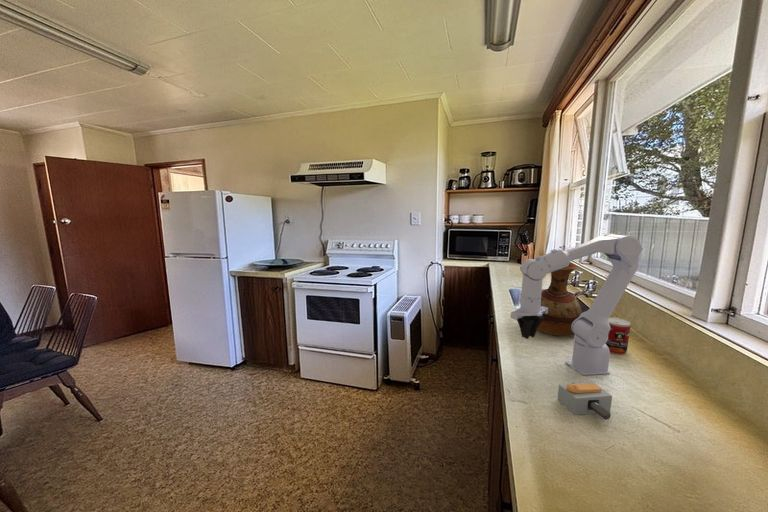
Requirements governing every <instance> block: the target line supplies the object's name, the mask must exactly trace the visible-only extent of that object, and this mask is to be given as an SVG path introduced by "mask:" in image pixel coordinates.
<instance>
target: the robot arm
mask: <svg viewBox="0 0 768 512" xmlns="http://www.w3.org/2000/svg"><path fill="white" fill-rule="evenodd" d="M643 249H644V247H643V246H642V244H641V242H640V240H639V239H638V238H637V237H635V236H632V235H622V234H621V235H620V234H614V233H606V234H603V235H599V236H597V237H595V238H593V239H591V240H587V241H586V242H584V243H581V244H579V245H576V246H574V247H572V248H569V249H567V250H565V251H564V250H563V249H556V248H554V249H551V250H550V252H549V253H548V252H547V253H546V254H544V255H536V256H535V259H533V258H528V259H525V260H524V261H523V262H522V264H521V265H520V267H519V269H520V272H521V273H522V281H521V295H520V307H519V308H518V309H515V310H514V311H511V312H510V319H512V320H515V321H517V323H518V326H519V328H520V334H521V337H522V338H524V339H526V340H529V339H530V338H535V336H536V333H537V331H538V326H539V325H540V323H541V322H542V321H543V318H544V317H542V315H543V314H542V313H544V314H547V313H548V308H547V307H544V306H541V307H540V305H541V293H542V291H543V281H544V280H543V279H544V278H545V277H546V276H547V275H548V274H551V272H553V271H556V270H559V269H562V268H564V267H567V266H568V265H569V263H571V262H572V261H574V260H578V259H579V260H580V259H581V258H585V257H588V256H591V255H594V254H596V253H597V254H598V253H600V254H604V256H606V257H607V258H608V259H609V261H610V263H611V265H612V268H611V270H610V272H609V274H608V275H607V277H606V279H605V281H604V282H603V284H602V286H601V288H600V289H599V291H598V293H597V294H596V297H595V298H594V300H593V301H592V304H591V305H590V306H589V309H588V310H586V311H583V312H582V313H581V315H580V316H579V317H578V318H577V319H576V320H574V321H573V323H572V325H571V329H572V331H573V333H575V334H574V340H573V348H572V349H573V350H572V358H571V360H565V364H567V365H568V366H569V367H571V368H572V369H574V370H575V371H577V372H578V373H579V374H581V375H583V376H590V375H604V374H611V371H610V370H609V366H610V357H611V352H610V351H609V348H608V346H607V345H606V342H607V341H608V333H609V331H610V329H611V328H610V325H609V322H608V319H609V317H611V315H612V314H613V312H614V310H615V308H616V307H617V305H618V303H619V302H620V300H621V298H622V296H623V294H624V293H625V291H626V290H627V288H628V286H629V284H630V283H631V281H632V279H633V277H634V276H635V274H636V272H637V271H638V268H639V259H640V255H641V253H642V251H643Z"/></svg>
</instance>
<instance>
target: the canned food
mask: <svg viewBox="0 0 768 512" xmlns="http://www.w3.org/2000/svg"><path fill="white" fill-rule="evenodd" d="M608 322H609V325H610V328H611V329H610V331H609V333H608V341H607V342H606V345H607V346H608V348H609V351H610V354H611V353H612V354H617V355H624V354H626V353H627V351H628V345H629V340H630V339H629V338H630V332H631V322H630V321H628V320H626V319H622V318H618V317H611V316H610V317H609V319H608Z"/></svg>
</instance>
